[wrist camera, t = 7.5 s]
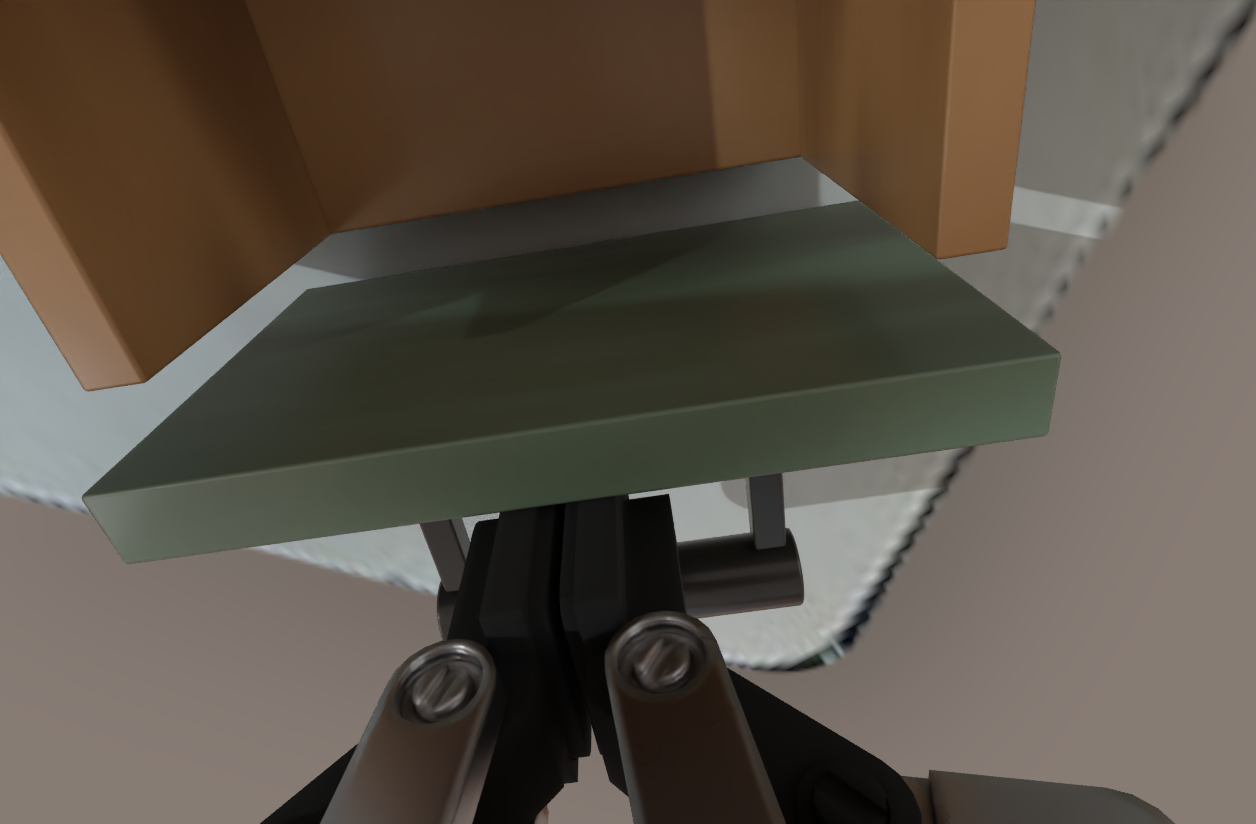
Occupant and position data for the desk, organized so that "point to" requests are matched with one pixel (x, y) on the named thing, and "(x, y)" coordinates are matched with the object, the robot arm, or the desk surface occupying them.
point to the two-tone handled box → (524, 284)
